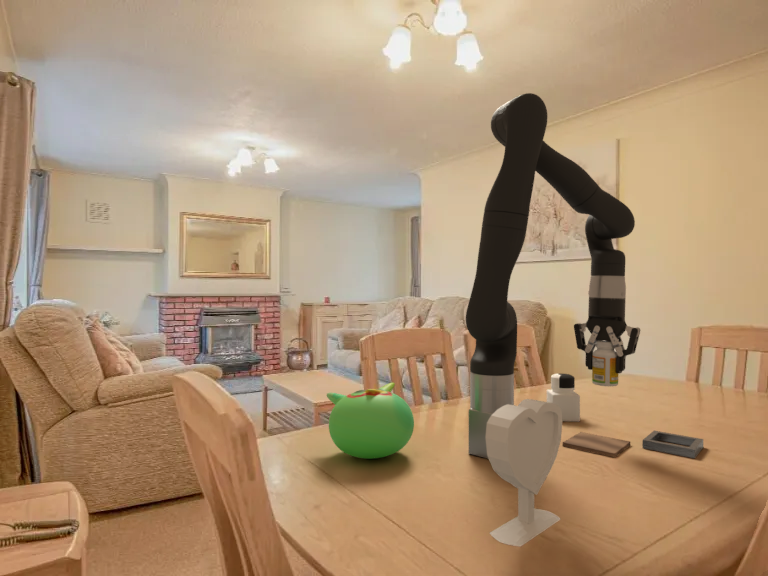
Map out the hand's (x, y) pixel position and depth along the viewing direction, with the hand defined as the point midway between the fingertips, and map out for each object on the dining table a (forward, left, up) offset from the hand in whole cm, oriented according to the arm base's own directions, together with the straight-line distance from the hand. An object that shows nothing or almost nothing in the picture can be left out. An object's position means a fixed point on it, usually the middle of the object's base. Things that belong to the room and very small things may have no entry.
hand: (604, 370), depth 107 cm
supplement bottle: (0, 0, -3) cm, 3 cm away
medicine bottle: (+16, +16, -17) cm, 29 cm away
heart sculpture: (-47, -4, -17) cm, 50 cm away
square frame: (+8, -12, -17) cm, 22 cm away
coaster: (-2, +1, -17) cm, 17 cm away
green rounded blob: (-41, +34, -17) cm, 56 cm away
